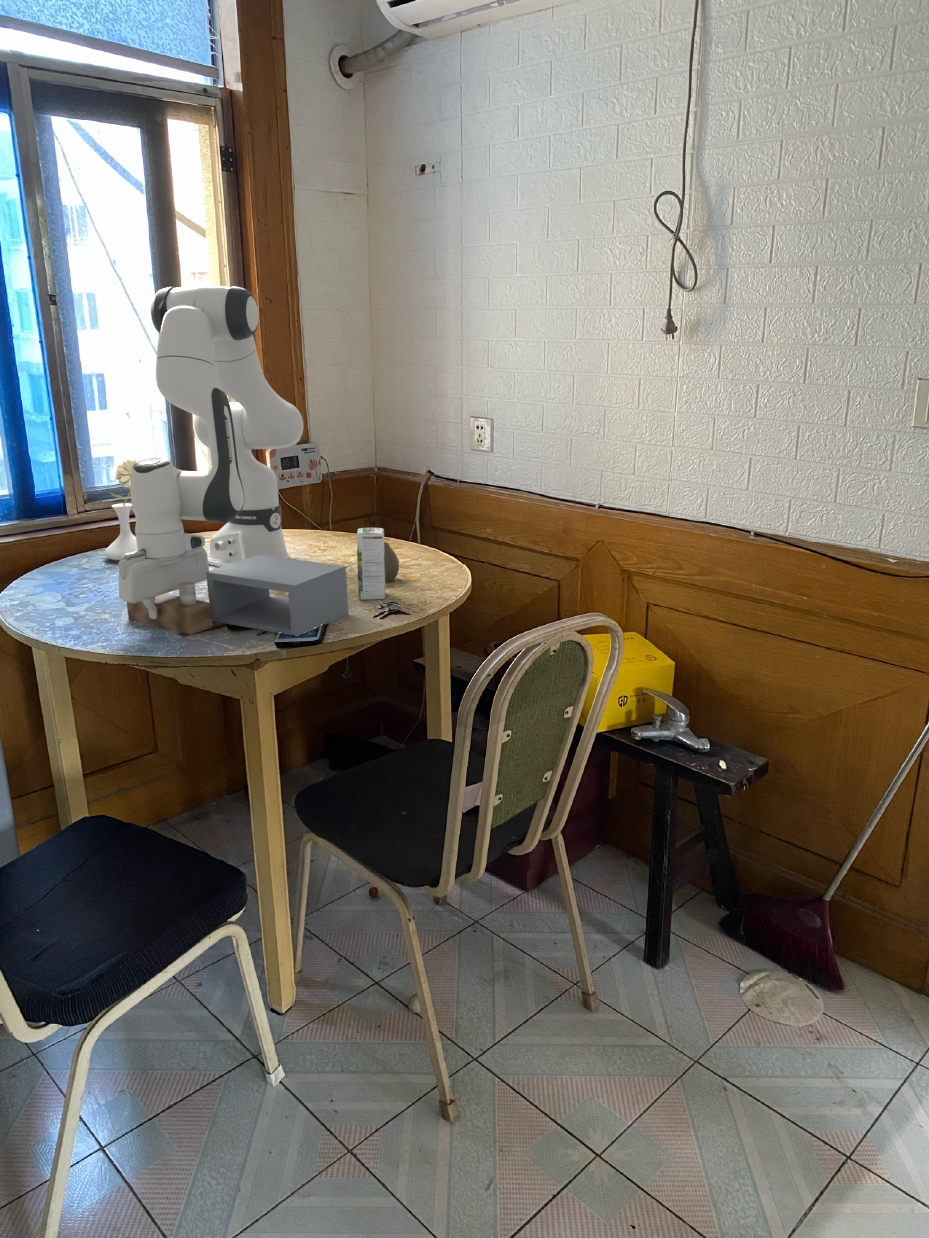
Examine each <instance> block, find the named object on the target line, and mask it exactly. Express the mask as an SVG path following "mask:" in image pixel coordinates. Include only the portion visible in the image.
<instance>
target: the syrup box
mask: <svg viewBox="0 0 929 1238" xmlns="http://www.w3.org/2000/svg"><path fill="white" fill-rule="evenodd" d="M384 542H385V529H384V528H381V527H361V528H358V529H357V532H356V555H357V556H356V559H357V560H356V561H357V562H356V563H357V583H358V584H357V586H358V592H357V593H358V600H361V601H363V600H364V601H366V600H368V601H370V600H383V599H386V582H385V554H384Z"/></svg>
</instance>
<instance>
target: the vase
mask: <svg viewBox="0 0 929 1238" xmlns="http://www.w3.org/2000/svg"><path fill="white" fill-rule="evenodd" d="M384 554H385V583H390V582H393V581H394V580H395V579H396V578H397V576H398V575H399V570H400V561H399V558H398V555H397V554H396V552H395V551H394V549H392V547H391V546H390V544H389V542H386V541H384Z"/></svg>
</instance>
